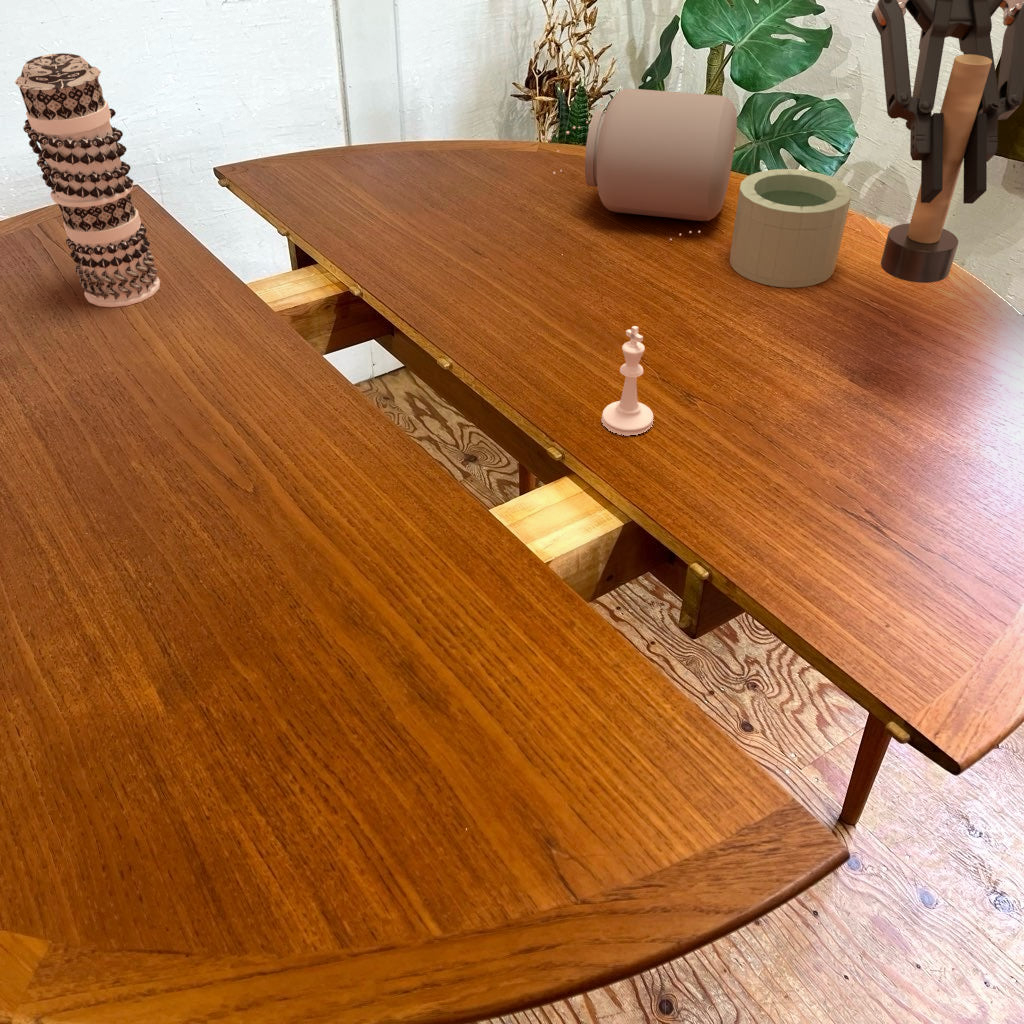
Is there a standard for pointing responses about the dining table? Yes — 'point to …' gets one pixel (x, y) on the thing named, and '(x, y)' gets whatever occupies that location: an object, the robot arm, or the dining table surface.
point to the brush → (923, 241)
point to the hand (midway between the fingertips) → (953, 196)
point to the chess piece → (629, 394)
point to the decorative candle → (88, 178)
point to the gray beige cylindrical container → (789, 227)
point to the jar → (662, 153)
